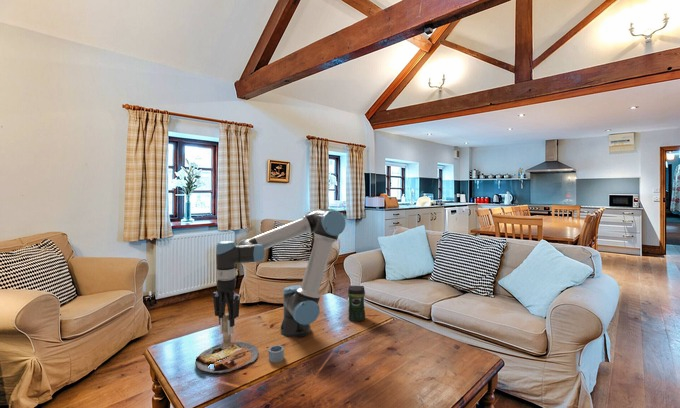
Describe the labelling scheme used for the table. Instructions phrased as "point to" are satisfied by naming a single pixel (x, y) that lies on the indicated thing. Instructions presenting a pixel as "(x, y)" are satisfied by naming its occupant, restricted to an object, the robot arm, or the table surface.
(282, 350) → the cup
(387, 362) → the table surface
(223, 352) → the food plate
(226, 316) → the pestle
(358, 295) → the coffee jar
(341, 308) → the table surface
